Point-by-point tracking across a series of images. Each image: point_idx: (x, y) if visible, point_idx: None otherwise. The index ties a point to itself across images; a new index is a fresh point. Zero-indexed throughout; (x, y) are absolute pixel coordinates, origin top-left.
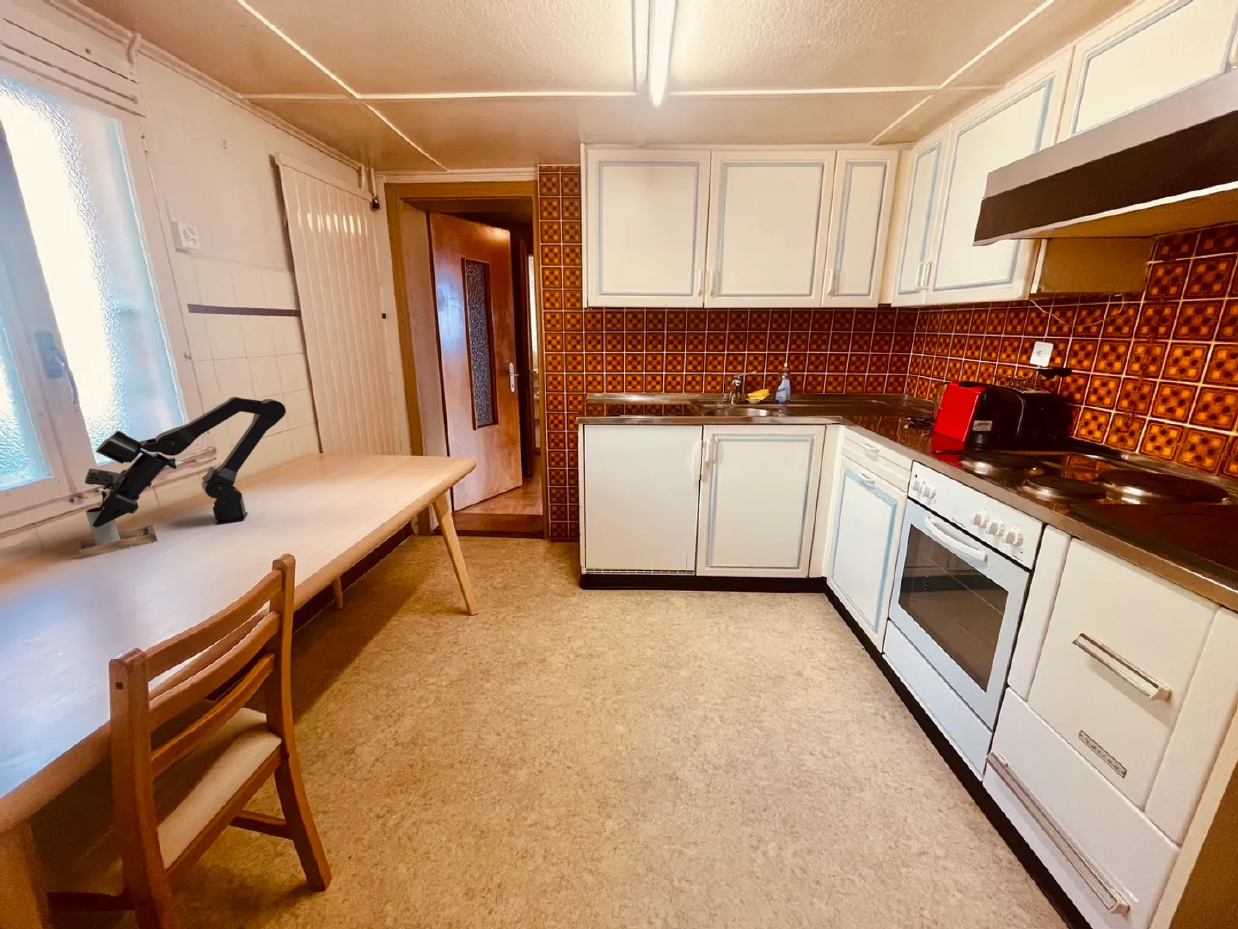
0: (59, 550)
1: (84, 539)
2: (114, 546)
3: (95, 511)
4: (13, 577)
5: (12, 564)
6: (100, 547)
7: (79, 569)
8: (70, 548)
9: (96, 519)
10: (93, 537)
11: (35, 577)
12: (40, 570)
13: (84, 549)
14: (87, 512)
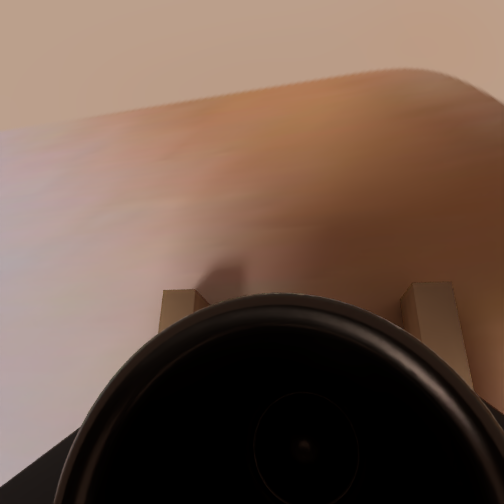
0: (451, 204)
1: (436, 308)
2: None
3: (442, 449)
4: (155, 112)
5: (351, 78)
6: None
7: (11, 303)
8: (452, 247)
9: (78, 430)
10: (450, 361)
11: (78, 171)
12: (157, 174)
13: (168, 314)
14: (180, 322)
